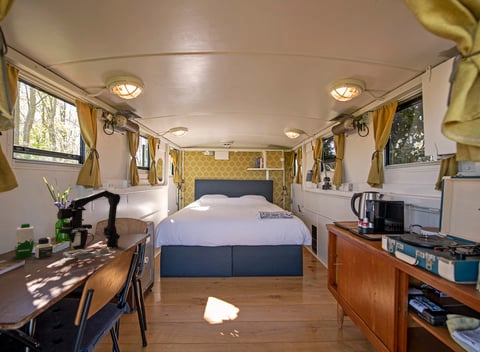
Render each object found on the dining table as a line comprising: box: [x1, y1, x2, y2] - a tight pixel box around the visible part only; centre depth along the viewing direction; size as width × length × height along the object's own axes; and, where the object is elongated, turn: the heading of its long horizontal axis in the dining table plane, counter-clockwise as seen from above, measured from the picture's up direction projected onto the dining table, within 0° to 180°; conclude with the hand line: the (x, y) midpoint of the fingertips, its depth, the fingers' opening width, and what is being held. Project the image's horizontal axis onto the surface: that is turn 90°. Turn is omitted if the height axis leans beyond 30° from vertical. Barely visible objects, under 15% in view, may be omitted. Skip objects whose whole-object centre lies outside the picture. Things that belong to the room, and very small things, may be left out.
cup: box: [72, 230, 95, 250], centre depth 171 cm, size 10×14×12 cm
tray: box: [62, 249, 88, 259], centre depth 153 cm, size 10×10×2 cm
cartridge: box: [71, 232, 81, 247], centre depth 154 cm, size 5×5×8 cm
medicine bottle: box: [34, 236, 54, 259], centre depth 150 cm, size 7×7×12 cm
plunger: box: [100, 245, 108, 250], centre depth 158 cm, size 4×4×3 cm
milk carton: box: [14, 223, 35, 259], centre depth 151 cm, size 9×9×20 cm
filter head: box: [75, 248, 112, 261], centre depth 153 cm, size 18×10×3 cm, turn 145°
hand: (76, 241), depth 154 cm, fingers closed on cartridge, 5 cm apart
